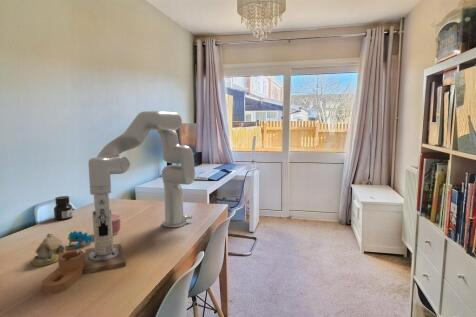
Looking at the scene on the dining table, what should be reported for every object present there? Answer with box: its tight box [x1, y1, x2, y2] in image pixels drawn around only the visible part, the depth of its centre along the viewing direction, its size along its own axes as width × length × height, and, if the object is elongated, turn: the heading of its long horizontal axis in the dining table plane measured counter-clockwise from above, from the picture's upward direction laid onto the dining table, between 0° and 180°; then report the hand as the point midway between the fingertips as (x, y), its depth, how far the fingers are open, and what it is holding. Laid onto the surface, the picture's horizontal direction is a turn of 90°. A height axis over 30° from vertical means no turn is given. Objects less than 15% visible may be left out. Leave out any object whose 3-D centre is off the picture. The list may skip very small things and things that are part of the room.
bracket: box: [41, 249, 85, 294], centre depth 110 cm, size 18×8×7 cm, turn 179°
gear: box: [67, 230, 94, 249], centre depth 138 cm, size 11×6×10 cm
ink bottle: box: [53, 195, 73, 221], centre depth 177 cm, size 10×9×12 cm
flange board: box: [84, 243, 127, 274], centre depth 126 cm, size 14×20×3 cm
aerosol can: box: [92, 209, 114, 256], centre depth 124 cm, size 7×7×20 cm
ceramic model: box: [31, 233, 68, 267], centre depth 126 cm, size 14×11×10 cm
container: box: [111, 213, 122, 236], centre depth 154 cm, size 10×10×8 cm
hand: (102, 231), depth 125 cm, fingers open, 9 cm apart
